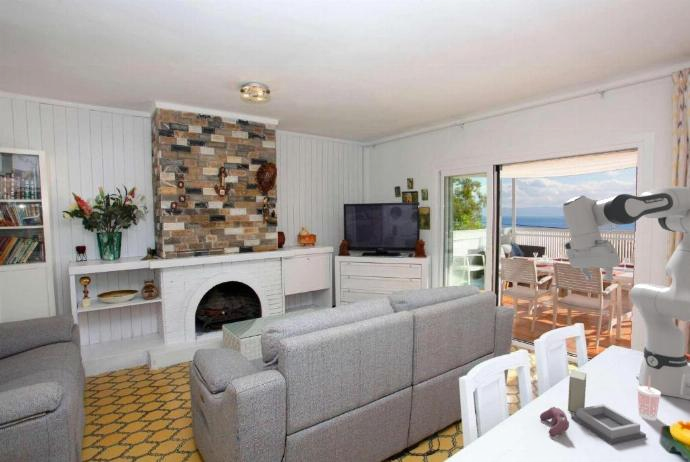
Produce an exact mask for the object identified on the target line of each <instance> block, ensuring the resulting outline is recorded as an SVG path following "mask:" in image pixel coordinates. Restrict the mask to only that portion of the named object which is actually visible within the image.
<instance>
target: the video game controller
mask: <svg viewBox="0 0 690 462" xmlns="http://www.w3.org/2000/svg"><path fill="white" fill-rule="evenodd" d="M539 419H540V420H541V421H549V420H551V421H550V423H551V425H553V426H552V427H550V428H549V430H548V435H549V436H552V437H555V436H559V435H561V434H563V433H564V432H565V431H568V429H569V427H570V422H569V420H568V417H567V415H566V413H565V412H564V410H562V409H560V408H559V407H557V406H552V407H549V408H548V409H547V410H545V411H543V412H542V413H541V414H540V415H539Z"/></svg>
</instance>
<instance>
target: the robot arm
mask: <svg viewBox="0 0 690 462" xmlns="http://www.w3.org/2000/svg"><path fill="white" fill-rule="evenodd" d="M562 212H563V217H564V220H565V224H566V227H568V230H569V236H570V239H569V240H568V241H567V242H566V243H564V244H563V247H564V249H565V250H566V255H567V258H568V261H569V265H570V266H571V267H572V268H573V269H579V270H580V272H581V274H582V275H583V276H584V278H585V280H586V281H590V280H593V279H594V276H593V274H591V273H590V271H589V269H603V270H604V272H605V275H604V276H603V278H604V280H605V281H608V282H610V281H613V280H614V276H613V272H614V268H616V267H619V266H620V265H621V263H622V261H621V259H620V256H619V254H618V251H617V250H616V247H615V246H614V245H613V244H612V242H610V241H609V240H607V239H603V238H602V235H601V232H600V229H599V228H601V229H602V228H607V227H608V228H609V227H615V226H619V225H621V226H622V225H629V224H634V223H636V221H638V220H639V219H641V218H642V217H645V218H647V219H657V221H658V224H659V226H660V227H661V229H663V230H665V231H669V232H672V233H673V232H674V233H675V232H677V233H678V232H679V233H683V238H682V240H681V241H680V242H679V244H678V245H677V246H676V247H675V250H674V251H673V253H672V255H671V256H670V258H669V260H668V262H667V264H666V265H665V268H664V270H665V272H666V274H667V275H668V277H669V278H671V279H672V280H671V284H670V285H669V286H666V285H661V284H656V283H647V282H646V283H637V284H635V285H634V286H632V288H631V290H630V292H629V298H630V301H631V304H633V305H634V307H636V309H637V310H638V312H639V314H640V315H641V318H642V319H643V322H644V327H645V347H644V348H643V349H644V350H643V357H644V358H641V362H640V367H639V373H637V374H636V376H635V377H636V378H637V380H638V384H639V386H648V378H649V375H650V387H652V388H654V389H657V390H658V391H660V392H661V395H664V396H668V397H675V398H680V399H684V400H687V401H690V365H689V364H688V361H690V354H688V353H685V346H686V345H685V343H686V336H685V334H684V331H683V330H682V329H681V328H680V327H678V326H677V324H676V323H675V321H674V319H675V320H679V321H682V322H689V323H690V188H689V187H687V186H680V185H678V186H677V185H675V186H674V185H673V186H672V185H671V186H670V185H669V186H662V187H661V186H660V187H657V188H653V189H649V190H647V191H645V192H642V193H641V194H640V195H639V196H635V195H633V194H629V193H622V194H618V195H615V196H612V197H609V198H604V199H602V200H597V199H591V198H588V197H587V196H586V195H579V196H575V197H573V198H569V199H568V200H566V201H565V202H564V203H563V205H562Z"/></svg>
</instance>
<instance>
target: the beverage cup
mask: <svg viewBox="0 0 690 462" xmlns="http://www.w3.org/2000/svg"><path fill="white" fill-rule="evenodd" d="M636 391H637V405H638V408H637V409H638V415H639V417H641V418H642V419H645V420H648V421H656V420H657V417H658V411H659V403H660V397H661V396H662V394H661V392H660V391H658V390H657V389H654V388H652V387H650V375H649V378H648V386H641V385H638V386H636Z"/></svg>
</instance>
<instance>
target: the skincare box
mask: <svg viewBox="0 0 690 462" xmlns="http://www.w3.org/2000/svg"><path fill="white" fill-rule="evenodd" d="M568 380H569V381H568V382H569V383H568V398H567V399H568V401H567V402H568V403H567V411H571V412H572V413H575V414H577V409H579V408H585V406H586V404H585V403H586V388H587V373H586V372H581V371H578V370H573V369H572V370H571V372H570V375H569V379H568Z"/></svg>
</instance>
